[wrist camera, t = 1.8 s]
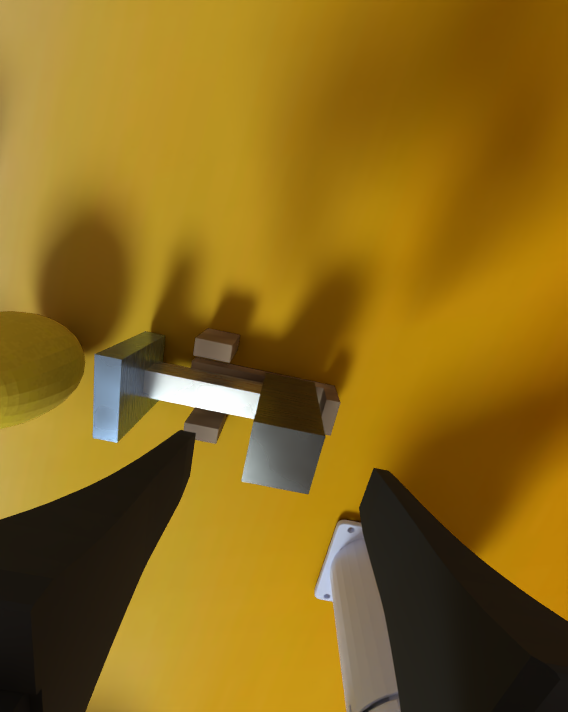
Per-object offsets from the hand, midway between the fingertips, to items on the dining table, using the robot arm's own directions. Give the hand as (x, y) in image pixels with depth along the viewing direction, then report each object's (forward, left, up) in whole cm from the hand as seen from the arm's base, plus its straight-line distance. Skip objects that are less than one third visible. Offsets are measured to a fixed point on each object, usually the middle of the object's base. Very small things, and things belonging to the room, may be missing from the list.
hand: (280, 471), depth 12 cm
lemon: (+14, 0, -8) cm, 16 cm away
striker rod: (+4, 0, -7) cm, 8 cm away
